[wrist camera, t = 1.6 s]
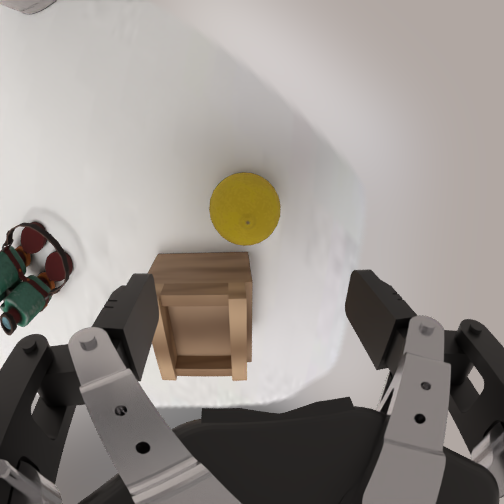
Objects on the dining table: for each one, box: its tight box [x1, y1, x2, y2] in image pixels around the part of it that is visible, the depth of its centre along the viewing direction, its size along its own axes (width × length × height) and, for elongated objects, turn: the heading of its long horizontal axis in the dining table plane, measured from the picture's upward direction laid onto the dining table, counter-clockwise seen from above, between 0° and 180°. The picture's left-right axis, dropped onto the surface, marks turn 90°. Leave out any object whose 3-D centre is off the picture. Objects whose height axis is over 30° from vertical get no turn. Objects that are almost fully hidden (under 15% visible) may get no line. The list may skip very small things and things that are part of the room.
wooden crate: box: [148, 252, 252, 381], centre depth 26 cm, size 9×9×8 cm
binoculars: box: [0, 222, 73, 335], centre depth 22 cm, size 9×11×10 cm
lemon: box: [209, 172, 280, 246], centre depth 22 cm, size 6×6×8 cm
